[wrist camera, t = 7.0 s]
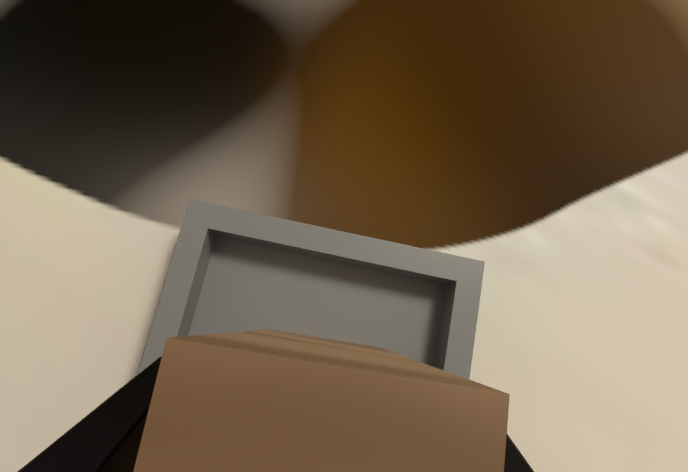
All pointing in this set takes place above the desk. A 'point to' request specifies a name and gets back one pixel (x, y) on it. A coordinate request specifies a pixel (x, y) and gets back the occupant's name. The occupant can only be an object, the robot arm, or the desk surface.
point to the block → (314, 409)
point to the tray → (316, 288)
